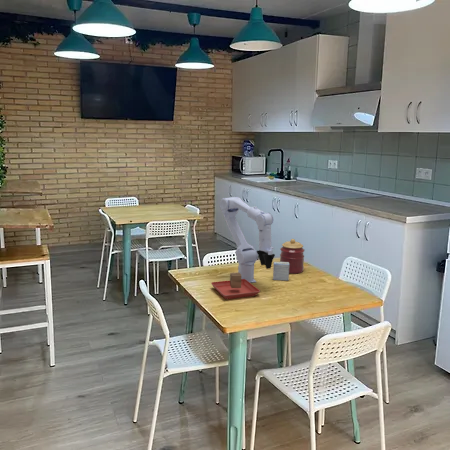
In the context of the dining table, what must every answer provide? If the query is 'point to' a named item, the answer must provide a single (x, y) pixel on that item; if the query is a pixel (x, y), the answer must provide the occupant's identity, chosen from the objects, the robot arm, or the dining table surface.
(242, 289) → the plant saucer
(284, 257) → the canister
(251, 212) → the robot arm
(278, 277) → the medicine box
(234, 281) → the walnut block
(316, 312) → the dining table surface
